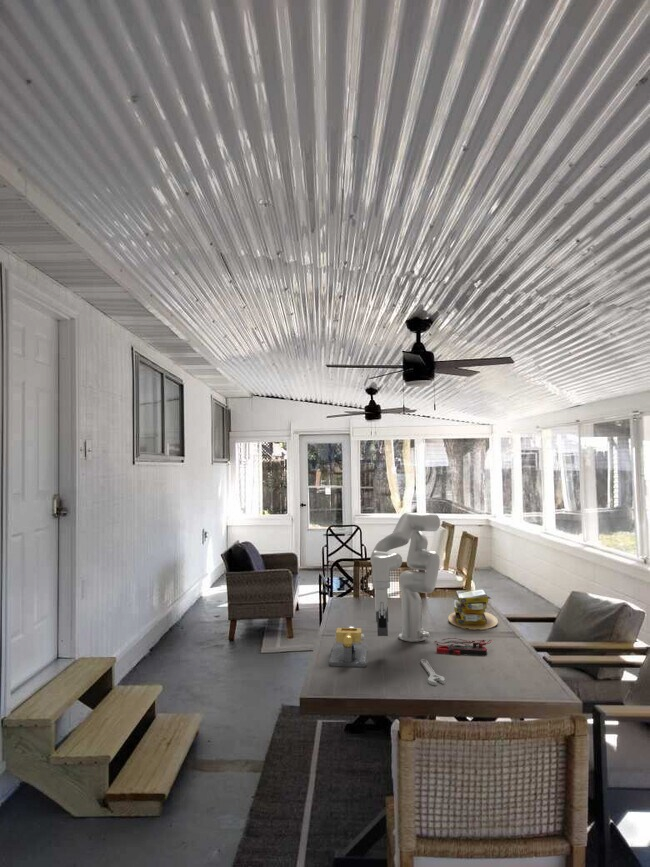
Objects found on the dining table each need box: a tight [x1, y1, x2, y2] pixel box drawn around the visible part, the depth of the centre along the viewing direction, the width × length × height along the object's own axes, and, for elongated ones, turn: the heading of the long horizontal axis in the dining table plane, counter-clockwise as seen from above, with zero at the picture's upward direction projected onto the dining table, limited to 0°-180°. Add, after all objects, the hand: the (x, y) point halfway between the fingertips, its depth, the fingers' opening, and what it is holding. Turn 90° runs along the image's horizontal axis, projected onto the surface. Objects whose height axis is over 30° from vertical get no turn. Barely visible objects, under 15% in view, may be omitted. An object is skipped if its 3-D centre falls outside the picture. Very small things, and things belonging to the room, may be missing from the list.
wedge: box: [375, 606, 389, 637], centre depth 238 cm, size 2×5×12 cm, turn 84°
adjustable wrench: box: [420, 659, 446, 686], centre depth 217 cm, size 25×6×2 cm, turn 178°
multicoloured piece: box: [328, 624, 368, 668], centre depth 237 cm, size 25×15×11 cm, turn 174°
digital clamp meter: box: [434, 637, 492, 656], centre depth 248 cm, size 23×4×25 cm
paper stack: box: [448, 589, 499, 630], centre depth 288 cm, size 25×25×17 cm
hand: (382, 626), depth 238 cm, fingers closed on wedge, 1 cm apart
